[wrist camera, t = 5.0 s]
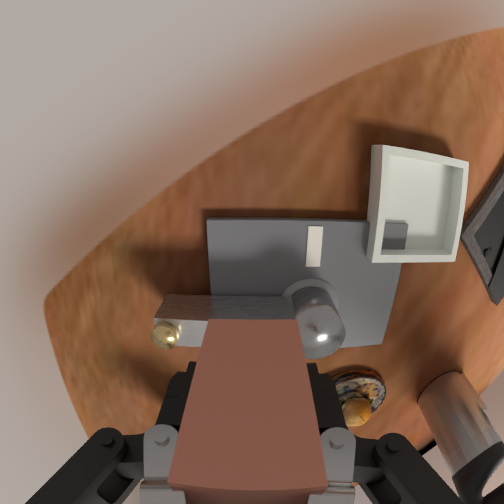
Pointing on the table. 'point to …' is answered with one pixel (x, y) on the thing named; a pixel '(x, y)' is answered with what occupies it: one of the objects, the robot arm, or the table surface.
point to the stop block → (249, 418)
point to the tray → (416, 203)
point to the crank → (251, 318)
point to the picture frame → (488, 238)
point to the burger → (359, 394)
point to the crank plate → (309, 266)
